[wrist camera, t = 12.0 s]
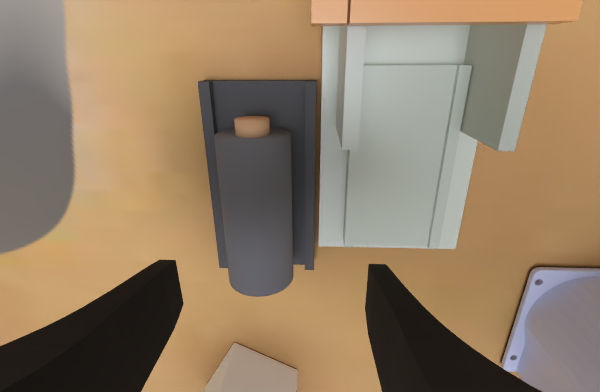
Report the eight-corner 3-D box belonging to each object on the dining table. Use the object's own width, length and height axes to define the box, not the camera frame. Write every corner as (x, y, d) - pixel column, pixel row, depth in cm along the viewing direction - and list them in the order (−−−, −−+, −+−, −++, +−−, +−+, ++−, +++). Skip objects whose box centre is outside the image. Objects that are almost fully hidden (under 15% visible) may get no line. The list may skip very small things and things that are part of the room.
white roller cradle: (452, 244, 22) (493, 301, 17) (318, 241, 23) (318, 297, 18) (499, 7, 17) (581, -15, 12) (323, 9, 17) (325, -11, 12)
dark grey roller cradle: (313, 259, 23) (313, 269, 22) (224, 257, 24) (219, 267, 23) (316, 79, 19) (316, 81, 18) (204, 80, 19) (197, 81, 18)
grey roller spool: (293, 267, 23) (293, 307, 19) (236, 267, 23) (224, 307, 19) (291, 112, 19) (289, 125, 15) (221, 113, 19) (202, 126, 15)
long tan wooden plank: (553, 24, 12) (577, 21, 11) (311, 26, 12) (311, 23, 11) (563, -15, 11) (589, -23, 10) (312, -12, 12) (311, -19, 11)
